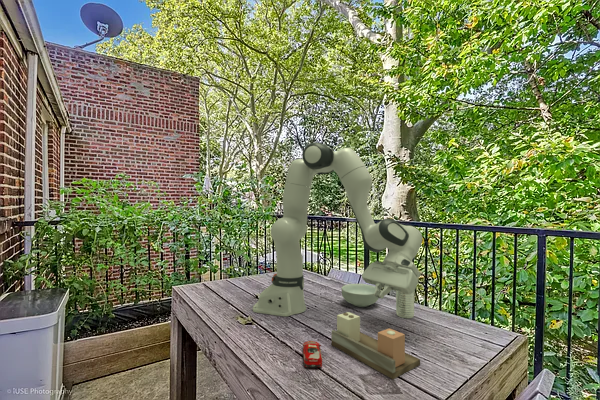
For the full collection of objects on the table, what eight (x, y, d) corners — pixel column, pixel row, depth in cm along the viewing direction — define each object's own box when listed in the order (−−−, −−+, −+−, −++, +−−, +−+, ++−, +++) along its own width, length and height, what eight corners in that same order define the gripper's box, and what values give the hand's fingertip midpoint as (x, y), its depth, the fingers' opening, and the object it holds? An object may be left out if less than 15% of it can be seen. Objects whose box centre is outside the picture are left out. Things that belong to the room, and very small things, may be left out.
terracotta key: (389, 355, 84) (389, 327, 85) (404, 362, 80) (404, 333, 81) (377, 360, 82) (377, 331, 82) (393, 368, 77) (393, 337, 78)
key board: (357, 335, 101) (358, 322, 102) (420, 364, 83) (420, 348, 83) (331, 345, 94) (331, 330, 94) (392, 379, 76) (392, 361, 76)
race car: (302, 347, 93) (302, 334, 93) (320, 347, 93) (320, 334, 93) (302, 370, 80) (302, 355, 80) (322, 370, 80) (322, 355, 80)
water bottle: (415, 319, 116) (415, 254, 117) (397, 318, 117) (397, 254, 118) (412, 313, 123) (412, 252, 123) (395, 312, 124) (395, 251, 125)
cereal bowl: (334, 300, 139) (334, 285, 139) (364, 296, 146) (364, 282, 146) (355, 312, 123) (355, 295, 124) (387, 307, 130) (387, 291, 130)
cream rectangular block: (348, 335, 97) (348, 311, 98) (359, 340, 93) (359, 315, 94) (337, 339, 94) (337, 314, 95) (348, 345, 90) (348, 319, 91)
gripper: (369, 255, 115) (351, 284, 110) (417, 263, 99) (399, 298, 93) (377, 265, 118) (359, 295, 112) (425, 275, 101) (407, 310, 95)
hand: (377, 296), depth 102 cm, fingers closed
